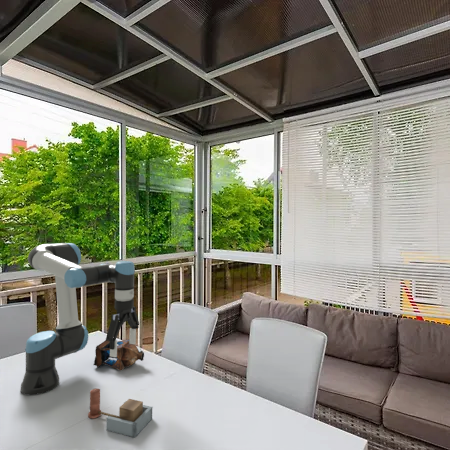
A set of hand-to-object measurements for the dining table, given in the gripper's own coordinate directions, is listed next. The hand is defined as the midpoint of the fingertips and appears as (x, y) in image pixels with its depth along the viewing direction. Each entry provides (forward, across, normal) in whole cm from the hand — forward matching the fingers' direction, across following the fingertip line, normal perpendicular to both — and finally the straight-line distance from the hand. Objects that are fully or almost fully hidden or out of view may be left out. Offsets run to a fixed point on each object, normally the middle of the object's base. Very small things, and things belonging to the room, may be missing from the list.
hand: (123, 349), depth 130 cm
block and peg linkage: (+22, -11, -3) cm, 25 cm away
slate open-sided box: (+22, -11, -11) cm, 27 cm away
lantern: (+23, +29, +21) cm, 42 cm away
